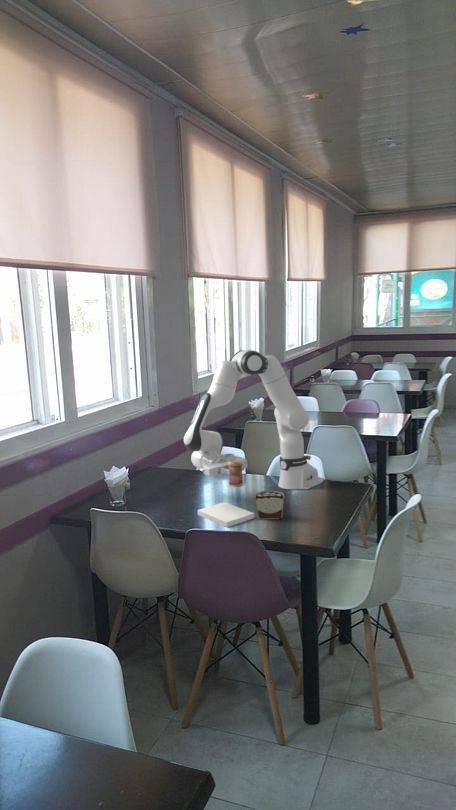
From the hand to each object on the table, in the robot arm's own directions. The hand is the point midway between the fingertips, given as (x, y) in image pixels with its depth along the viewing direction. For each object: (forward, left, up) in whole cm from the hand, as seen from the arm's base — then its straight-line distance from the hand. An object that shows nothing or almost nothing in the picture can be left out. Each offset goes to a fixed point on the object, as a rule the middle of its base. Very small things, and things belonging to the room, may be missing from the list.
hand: (236, 470), depth 237 cm
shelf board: (+9, +2, -17) cm, 19 cm away
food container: (-4, +15, -17) cm, 24 cm away
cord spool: (0, -1, -6) cm, 7 cm away
